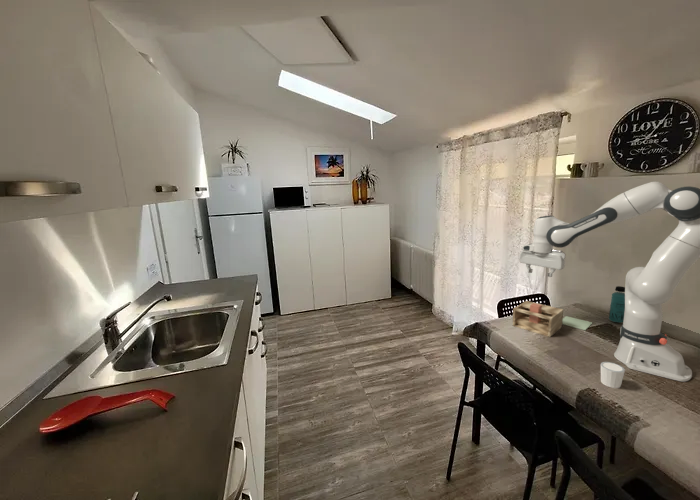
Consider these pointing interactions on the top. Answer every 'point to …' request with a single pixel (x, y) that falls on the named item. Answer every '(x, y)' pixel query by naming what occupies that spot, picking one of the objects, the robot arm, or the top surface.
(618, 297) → the beverage bottle
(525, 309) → the wooden crate
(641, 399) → the top surface
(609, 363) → the white cup
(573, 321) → the zone pad
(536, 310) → the block
